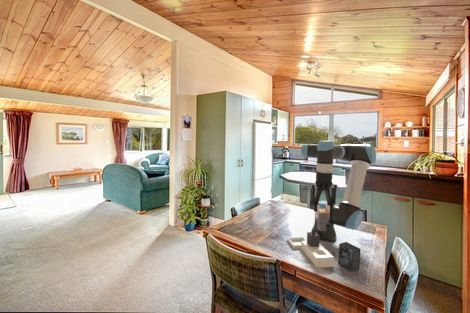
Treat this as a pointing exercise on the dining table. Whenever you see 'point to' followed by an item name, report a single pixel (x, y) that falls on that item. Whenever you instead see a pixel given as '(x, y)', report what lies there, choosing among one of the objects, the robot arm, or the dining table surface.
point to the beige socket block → (318, 255)
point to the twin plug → (313, 238)
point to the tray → (295, 242)
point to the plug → (322, 219)
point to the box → (349, 256)
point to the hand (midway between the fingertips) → (321, 217)
